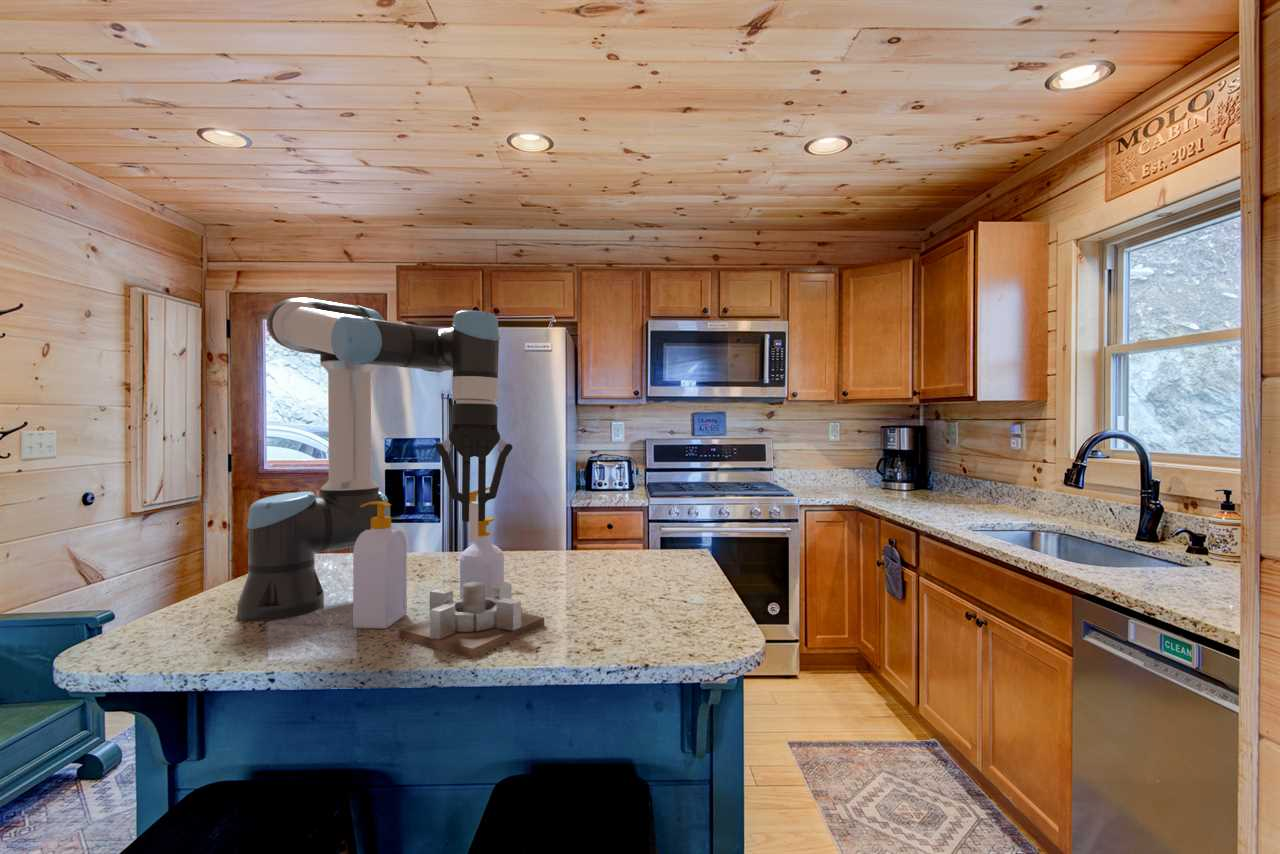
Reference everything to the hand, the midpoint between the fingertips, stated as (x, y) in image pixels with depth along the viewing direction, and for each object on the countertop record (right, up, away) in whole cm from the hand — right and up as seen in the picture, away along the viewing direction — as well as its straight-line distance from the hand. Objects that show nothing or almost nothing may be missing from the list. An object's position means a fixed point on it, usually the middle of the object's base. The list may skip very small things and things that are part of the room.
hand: (473, 540), depth 100 cm
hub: (-2, -18, +6) cm, 19 cm away
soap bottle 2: (-5, -18, +24) cm, 31 cm away
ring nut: (-2, -16, +6) cm, 17 cm away
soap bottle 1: (-22, -18, +12) cm, 30 cm away
